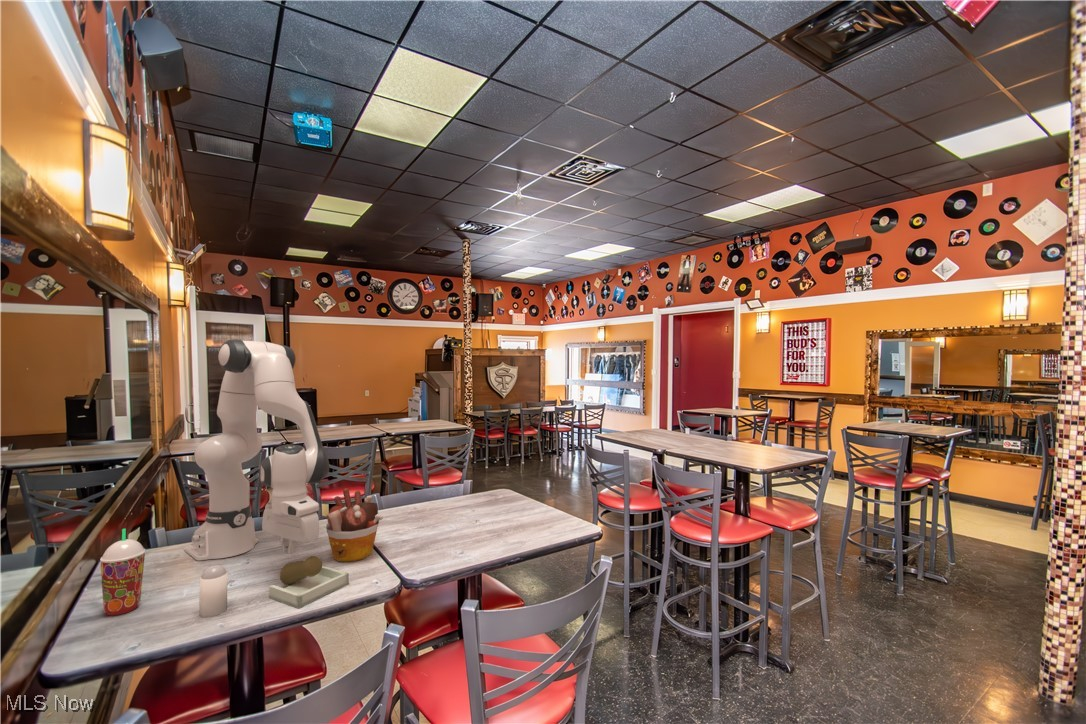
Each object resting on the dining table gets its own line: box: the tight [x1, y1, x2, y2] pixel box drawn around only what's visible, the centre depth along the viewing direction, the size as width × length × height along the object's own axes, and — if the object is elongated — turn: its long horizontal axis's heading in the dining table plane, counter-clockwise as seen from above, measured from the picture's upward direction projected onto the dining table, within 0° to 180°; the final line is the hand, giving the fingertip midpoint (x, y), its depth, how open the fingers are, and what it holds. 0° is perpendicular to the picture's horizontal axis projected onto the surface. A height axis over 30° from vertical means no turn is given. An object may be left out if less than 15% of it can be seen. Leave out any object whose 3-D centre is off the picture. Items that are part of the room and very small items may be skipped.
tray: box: [268, 565, 350, 609], centre depth 124 cm, size 12×15×3 cm
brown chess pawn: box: [279, 555, 323, 587], centre depth 126 cm, size 6×6×11 cm
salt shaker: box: [198, 564, 229, 619], centre depth 113 cm, size 6×6×11 cm
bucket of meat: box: [326, 487, 384, 563], centre depth 148 cm, size 20×16×20 cm
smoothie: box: [99, 528, 146, 617], centre depth 114 cm, size 8×8×20 cm
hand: (289, 553), depth 128 cm, fingers closed
